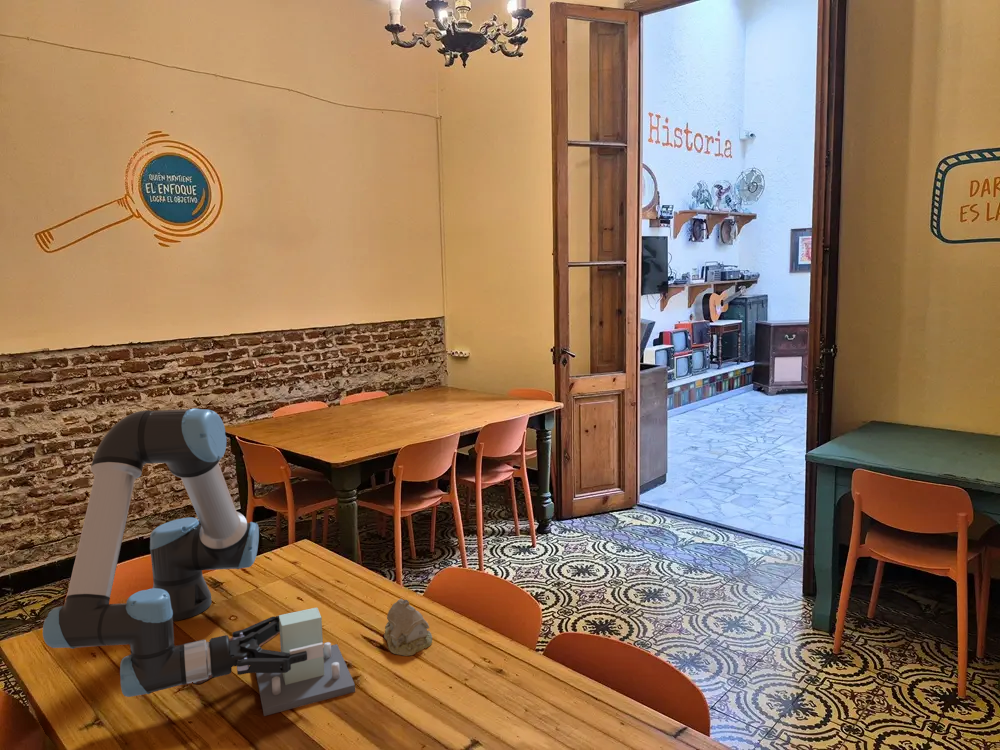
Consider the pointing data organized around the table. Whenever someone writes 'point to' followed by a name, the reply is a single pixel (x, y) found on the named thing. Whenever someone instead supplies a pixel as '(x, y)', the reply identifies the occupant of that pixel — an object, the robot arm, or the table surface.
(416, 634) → the ceramic model
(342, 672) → the peg plinth
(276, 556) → the table surface
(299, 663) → the mint board
